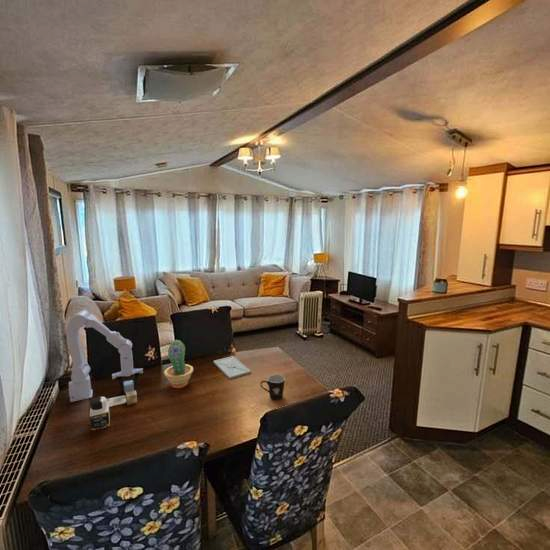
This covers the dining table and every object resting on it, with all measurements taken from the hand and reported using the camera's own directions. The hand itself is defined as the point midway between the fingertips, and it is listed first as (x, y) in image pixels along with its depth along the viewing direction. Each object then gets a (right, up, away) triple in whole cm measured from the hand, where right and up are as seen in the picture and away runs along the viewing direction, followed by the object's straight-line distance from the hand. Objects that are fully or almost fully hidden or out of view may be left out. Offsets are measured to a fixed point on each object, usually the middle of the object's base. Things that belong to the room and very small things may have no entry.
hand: (128, 388), depth 169 cm
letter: (-2, -3, -10) cm, 11 cm away
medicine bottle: (0, -6, -27) cm, 28 cm away
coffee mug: (+76, -3, -5) cm, 76 cm away
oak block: (+6, -3, -10) cm, 12 cm away
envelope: (+51, +2, +26) cm, 57 cm away
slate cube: (0, -2, 0) cm, 2 cm away
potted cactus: (+24, 0, +7) cm, 26 cm away
